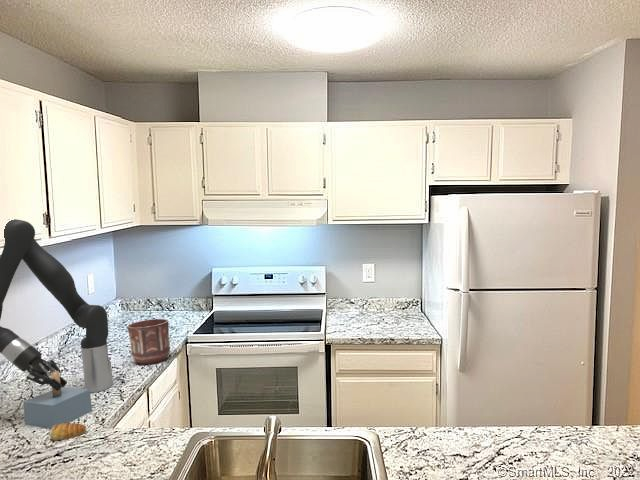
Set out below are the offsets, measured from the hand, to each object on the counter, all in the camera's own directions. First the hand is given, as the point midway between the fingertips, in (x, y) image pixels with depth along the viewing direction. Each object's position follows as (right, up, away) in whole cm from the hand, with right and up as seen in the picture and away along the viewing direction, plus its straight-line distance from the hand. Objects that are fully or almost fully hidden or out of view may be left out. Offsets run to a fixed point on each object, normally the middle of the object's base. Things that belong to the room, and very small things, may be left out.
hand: (62, 386), depth 157 cm
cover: (-1, -11, 0) cm, 11 cm away
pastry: (+9, -11, -14) cm, 20 cm away
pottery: (+8, -7, +61) cm, 62 cm away
